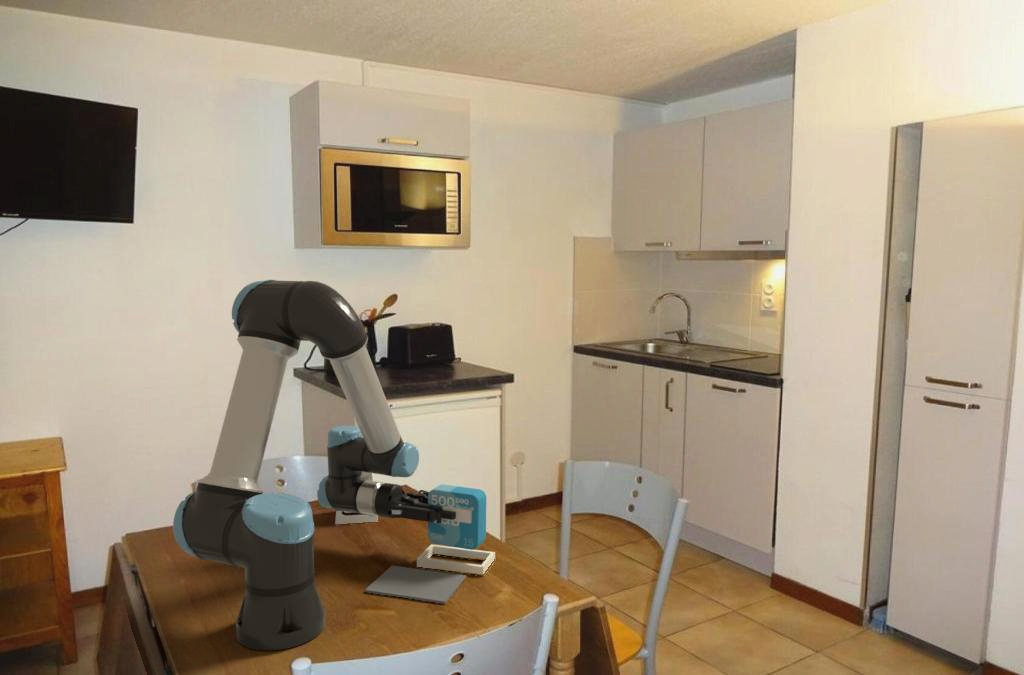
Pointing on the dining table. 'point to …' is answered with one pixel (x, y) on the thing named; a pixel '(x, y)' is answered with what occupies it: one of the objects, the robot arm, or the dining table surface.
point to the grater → (356, 518)
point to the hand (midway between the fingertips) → (475, 512)
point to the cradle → (455, 566)
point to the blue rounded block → (458, 531)
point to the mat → (416, 584)
